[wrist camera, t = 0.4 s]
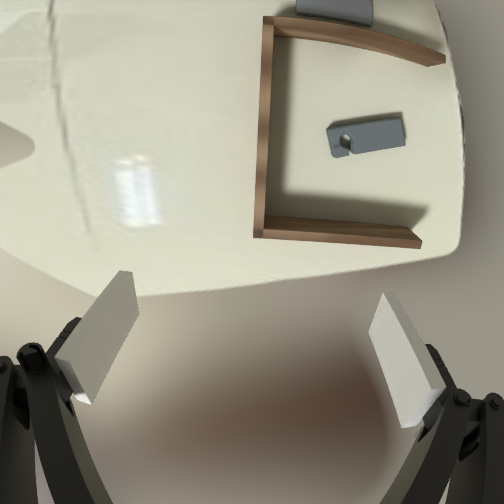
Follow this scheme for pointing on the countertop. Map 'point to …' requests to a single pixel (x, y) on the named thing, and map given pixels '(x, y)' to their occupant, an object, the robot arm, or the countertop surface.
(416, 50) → the u-shaped wooden frame
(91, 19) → the countertop surface
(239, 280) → the countertop surface
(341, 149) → the bracket
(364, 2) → the slate mat
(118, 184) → the countertop surface
